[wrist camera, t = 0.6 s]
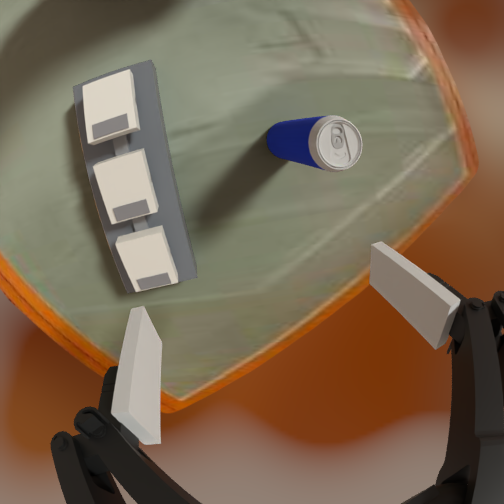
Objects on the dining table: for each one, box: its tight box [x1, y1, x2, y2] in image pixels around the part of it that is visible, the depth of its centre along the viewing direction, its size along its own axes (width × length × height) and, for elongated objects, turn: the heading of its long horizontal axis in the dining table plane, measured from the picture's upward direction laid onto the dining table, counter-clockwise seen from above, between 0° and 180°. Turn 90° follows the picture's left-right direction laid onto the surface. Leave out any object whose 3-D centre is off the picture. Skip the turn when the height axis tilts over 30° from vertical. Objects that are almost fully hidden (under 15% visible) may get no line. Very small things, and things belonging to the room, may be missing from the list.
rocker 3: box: [115, 225, 178, 292], centre depth 31 cm, size 7×6×2 cm
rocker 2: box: [93, 148, 159, 224], centre depth 27 cm, size 7×6×2 cm
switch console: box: [73, 60, 197, 293], centre depth 30 cm, size 28×10×5 cm, turn 9°
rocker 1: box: [82, 69, 140, 145], centre depth 23 cm, size 7×6×2 cm
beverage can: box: [267, 115, 362, 172], centre depth 28 cm, size 5×5×15 cm
